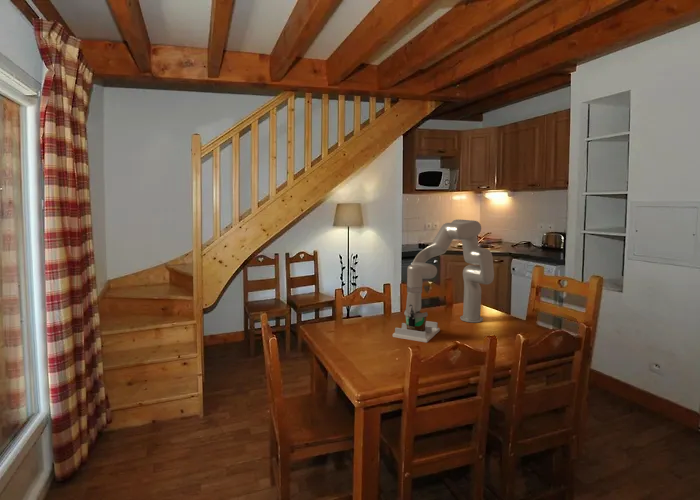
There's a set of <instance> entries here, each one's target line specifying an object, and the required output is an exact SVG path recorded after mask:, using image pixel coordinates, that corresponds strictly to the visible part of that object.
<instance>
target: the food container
mask: <svg viewBox="0 0 700 500" xmlns="http://www.w3.org/2000/svg"><path fill="white" fill-rule="evenodd" d="M412 312H414V311H412ZM403 314H404V316H405V323H406V325H407V329H409V330H415V331H422V332H423V331H425V325H426V321H427V318H428V316H429V315H428V311H426V312H421V311H420V312H416V313H415V317H414V319H415V326H414V327H413V326H409V318H408V317H409V316H408V312H406V308H405V309H404V313H403ZM412 315H413V314H412Z"/></svg>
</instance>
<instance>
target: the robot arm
mask: <svg viewBox="0 0 700 500" xmlns="http://www.w3.org/2000/svg"><path fill="white" fill-rule="evenodd" d="M481 232H482V225H481V223H480V222H479V221H477V220H474V219H473V220H472V219H471V220H470V219H459V218H458V219H454V220H452V221H451V222H445V223H443V224H442V225H441V227H440V228H439V230H438V231H437V233H436V235H435V237H434V239H433V240H432V242H431V243H430V244H429V245H428V246H426V247H425V248H423V249H422V250H420V251H419V252H418V253H417V254H416V255H415V257H414V259H413V260H412V262H411V264H409V265H408V266H407V270H406V271H407V272H406V274H407V278H406V279H407V281H406V285H407V286H406V293H407V295H406V305H405V306H406V307H405V309H406V312H408V316H409V317H408V318H409V326H413V327H414V326H415V319H414V317H415V313H416V312H421V309H422V294H423V279H424V280H429V279H433V278H435V277H436V276H437V274H438V268H437V266H436V265H434V264H432V263H428V260H430V259H432V258H434V257H439V256H441V255H443V254H445V253H446V252H447V250H448V249H449V247H450V245H451V244H452V241H454V240H456V241H457V240H458V241H461V244H462V254H463V260H464V262H465V263H467V264H469V265H466V266H465V267H463V270H462V279H463V303H462V304H463V306H462V307H463V308H462V310H463V311H462V315H460V316H459V318H460V320H461V321H463V322H467V323H481V322H483V321H484V318H483V317H482V316H481V312H482V311H481V309H482V307H481V306H482V287H481V285H490V284H492V283H493V281H494V278H495V269H494V268H495V267H494V257H493V254H492V251H491V250H490V249H488V248H484V247H480V246H479V240H478V236H479V235H480V234H481ZM426 262H427V263H426ZM412 311H414V312H412ZM412 314H413V315H412Z"/></svg>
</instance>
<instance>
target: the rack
mask: <svg viewBox="0 0 700 500" xmlns="http://www.w3.org/2000/svg"><path fill="white" fill-rule="evenodd" d="M440 331H441V328H440V327H439V325H438V322H436V321H430V320H426V325H425V331H423V332H422V331H415V330H409V329H407V325H406V322H402V323H401V327H395V328H394V332H393V333H392V337H393V338H398V339H405V340H409V341H416V342H422V343H428V342H429V341H430V340H431V339H433V338H434V337H435V336H436V334H438V333H439V332H440Z"/></svg>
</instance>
